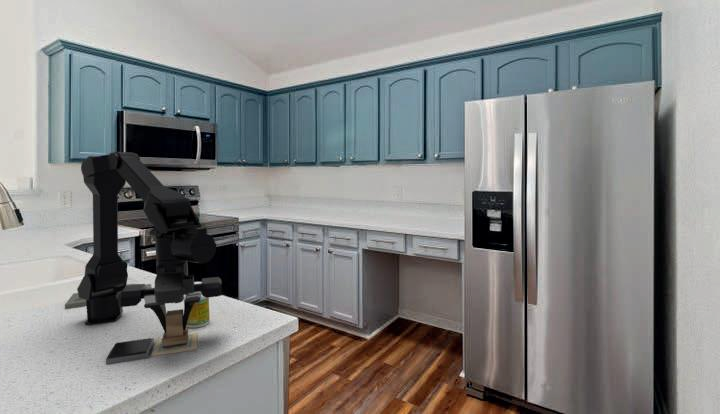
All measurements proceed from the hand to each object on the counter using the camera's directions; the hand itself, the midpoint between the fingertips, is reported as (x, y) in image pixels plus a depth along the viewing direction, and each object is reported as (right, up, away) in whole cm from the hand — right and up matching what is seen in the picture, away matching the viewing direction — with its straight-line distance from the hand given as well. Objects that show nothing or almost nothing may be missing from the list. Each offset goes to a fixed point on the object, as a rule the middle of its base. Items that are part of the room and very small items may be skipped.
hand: (175, 331), depth 78 cm
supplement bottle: (0, -2, +11) cm, 11 cm away
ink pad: (-7, -3, -3) cm, 9 cm away
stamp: (0, -2, 0) cm, 2 cm away
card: (0, -3, 0) cm, 3 cm away
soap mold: (-33, -1, +30) cm, 45 cm away
